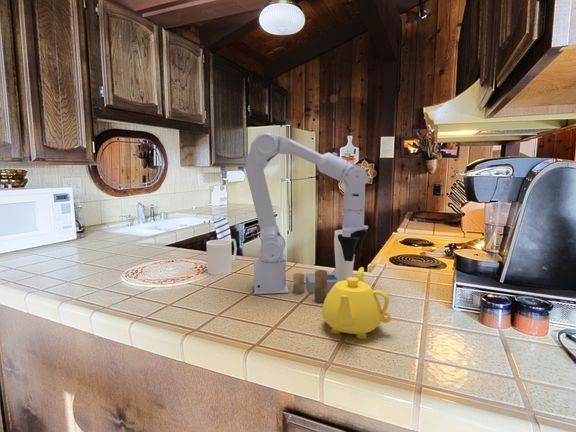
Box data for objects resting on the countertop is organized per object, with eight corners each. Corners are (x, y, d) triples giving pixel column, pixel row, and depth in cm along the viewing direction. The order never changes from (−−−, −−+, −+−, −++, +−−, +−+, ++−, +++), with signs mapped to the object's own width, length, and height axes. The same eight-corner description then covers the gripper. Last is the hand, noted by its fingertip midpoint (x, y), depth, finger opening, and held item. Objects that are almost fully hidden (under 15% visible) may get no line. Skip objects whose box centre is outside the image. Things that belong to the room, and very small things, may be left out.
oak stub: (293, 294, 95) (293, 277, 95) (292, 290, 98) (292, 273, 98) (305, 293, 96) (305, 276, 95) (303, 289, 99) (303, 273, 98)
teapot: (384, 360, 63) (387, 301, 62) (308, 344, 69) (309, 289, 67) (394, 316, 82) (397, 269, 80) (334, 306, 87) (335, 262, 86)
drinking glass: (354, 281, 105) (356, 234, 103) (332, 280, 107) (333, 233, 104) (355, 274, 112) (356, 229, 110) (334, 273, 113) (335, 229, 111)
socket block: (309, 292, 96) (309, 282, 96) (305, 283, 104) (305, 273, 104) (344, 291, 97) (344, 281, 97) (337, 282, 105) (338, 272, 105)
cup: (244, 267, 120) (244, 239, 118) (218, 276, 110) (217, 246, 109) (228, 263, 125) (228, 236, 123) (202, 271, 115) (201, 242, 114)
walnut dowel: (315, 303, 89) (316, 274, 88) (313, 299, 92) (314, 270, 91) (327, 303, 89) (328, 273, 88) (325, 298, 92) (325, 269, 91)
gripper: (362, 213, 86) (360, 266, 88) (374, 207, 99) (371, 253, 101) (335, 212, 89) (333, 262, 91) (350, 206, 102) (348, 250, 104)
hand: (352, 257), depth 96 cm, fingers open, 7 cm apart
